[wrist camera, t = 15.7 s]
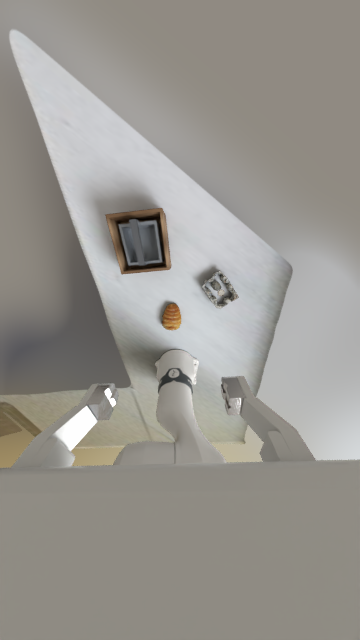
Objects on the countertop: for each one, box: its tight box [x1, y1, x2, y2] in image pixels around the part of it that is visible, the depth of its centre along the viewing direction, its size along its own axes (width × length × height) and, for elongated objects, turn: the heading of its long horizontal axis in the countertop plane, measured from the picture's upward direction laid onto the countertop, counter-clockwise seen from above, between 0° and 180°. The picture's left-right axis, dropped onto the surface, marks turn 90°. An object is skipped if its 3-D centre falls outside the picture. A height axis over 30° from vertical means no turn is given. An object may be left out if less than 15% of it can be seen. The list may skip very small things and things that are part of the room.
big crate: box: [105, 208, 171, 274], centre depth 36 cm, size 13×13×7 cm
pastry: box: [162, 303, 181, 330], centre depth 47 cm, size 9×7×4 cm
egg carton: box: [202, 271, 239, 309], centre depth 43 cm, size 11×8×4 cm
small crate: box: [119, 219, 164, 266], centre depth 34 cm, size 9×9×9 cm
